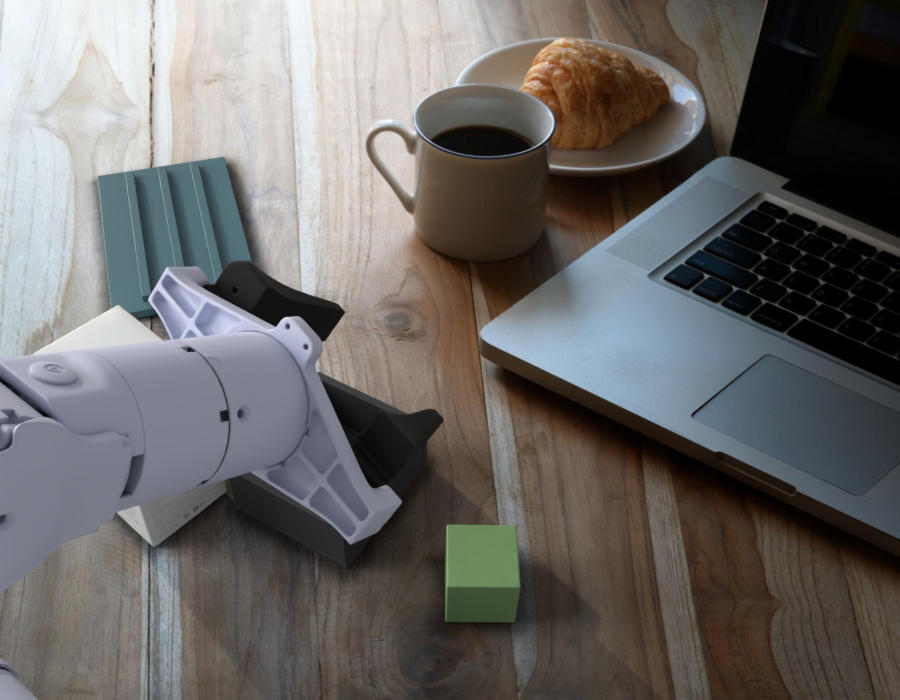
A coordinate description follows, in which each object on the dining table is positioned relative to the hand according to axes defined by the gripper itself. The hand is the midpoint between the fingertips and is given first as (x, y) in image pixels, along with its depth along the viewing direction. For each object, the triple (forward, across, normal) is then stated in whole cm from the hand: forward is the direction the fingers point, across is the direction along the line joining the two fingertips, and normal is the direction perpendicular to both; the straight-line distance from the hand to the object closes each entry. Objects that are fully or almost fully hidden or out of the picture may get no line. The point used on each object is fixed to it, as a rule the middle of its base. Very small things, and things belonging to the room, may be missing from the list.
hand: (379, 373), depth 47 cm
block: (+13, -9, +13) cm, 20 cm away
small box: (+7, +11, +23) cm, 26 cm away
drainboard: (+22, +33, +19) cm, 44 cm away
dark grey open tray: (+13, +3, +16) cm, 21 cm away
